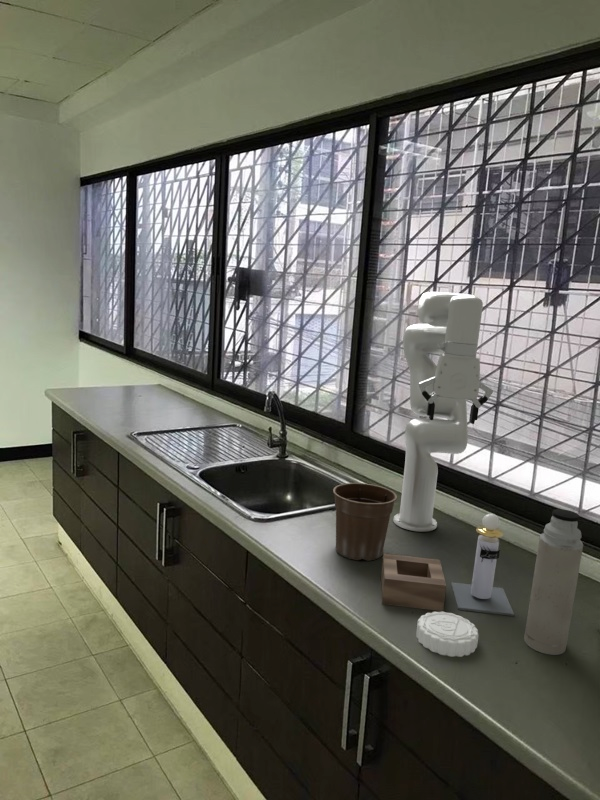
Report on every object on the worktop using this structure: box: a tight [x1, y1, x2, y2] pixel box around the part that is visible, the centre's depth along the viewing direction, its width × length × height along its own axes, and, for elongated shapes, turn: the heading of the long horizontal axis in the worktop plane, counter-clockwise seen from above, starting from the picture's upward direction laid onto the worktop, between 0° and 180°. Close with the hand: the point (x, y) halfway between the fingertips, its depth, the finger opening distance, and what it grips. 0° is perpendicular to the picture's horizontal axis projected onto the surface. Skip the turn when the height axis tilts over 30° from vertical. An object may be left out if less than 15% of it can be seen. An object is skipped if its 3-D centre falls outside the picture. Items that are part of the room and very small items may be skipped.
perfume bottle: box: [471, 513, 504, 599], centre depth 146 cm, size 6×6×20 cm
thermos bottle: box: [523, 508, 584, 656], centre depth 129 cm, size 8×8×28 cm
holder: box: [380, 552, 447, 612], centre depth 148 cm, size 13×13×6 cm
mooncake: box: [415, 610, 479, 658], centre depth 130 cm, size 12×12×4 cm
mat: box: [450, 582, 515, 617], centre depth 148 cm, size 12×12×1 cm
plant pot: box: [332, 482, 398, 562], centre depth 167 cm, size 16×16×16 cm
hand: (451, 420), depth 155 cm, fingers open, 9 cm apart
